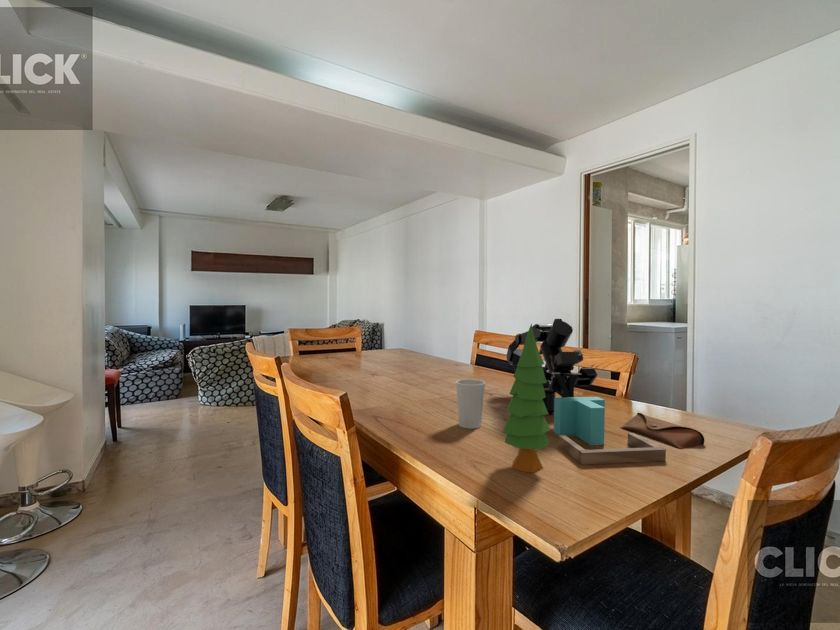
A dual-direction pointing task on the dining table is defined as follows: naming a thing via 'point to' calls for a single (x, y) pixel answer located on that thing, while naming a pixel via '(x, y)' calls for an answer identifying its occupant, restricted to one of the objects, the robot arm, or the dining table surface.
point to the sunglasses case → (664, 431)
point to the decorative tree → (527, 408)
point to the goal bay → (615, 451)
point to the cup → (470, 402)
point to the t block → (580, 418)
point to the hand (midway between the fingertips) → (571, 403)
